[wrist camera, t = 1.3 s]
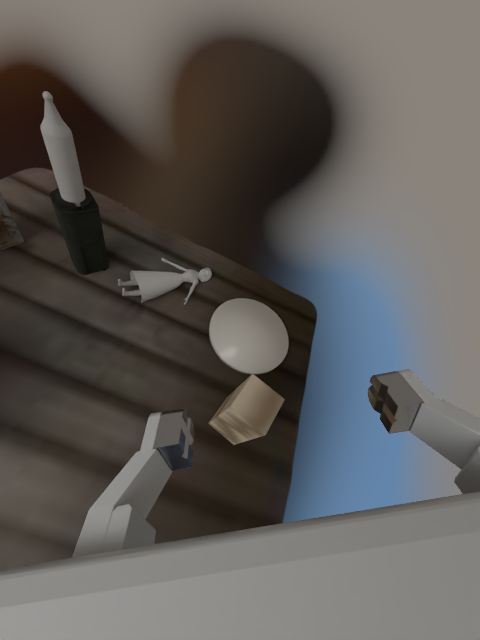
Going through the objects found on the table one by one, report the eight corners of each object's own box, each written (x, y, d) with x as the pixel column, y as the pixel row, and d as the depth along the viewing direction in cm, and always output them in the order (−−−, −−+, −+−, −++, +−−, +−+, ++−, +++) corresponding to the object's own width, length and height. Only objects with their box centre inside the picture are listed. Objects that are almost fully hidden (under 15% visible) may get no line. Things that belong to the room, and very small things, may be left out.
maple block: (208, 423, 37) (230, 406, 28) (226, 397, 40) (252, 373, 31) (234, 444, 37) (265, 435, 27) (250, 416, 40) (284, 399, 30)
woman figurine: (108, 254, 42) (201, 245, 52) (110, 271, 46) (196, 260, 55) (132, 309, 38) (227, 287, 48) (131, 323, 42) (220, 301, 52)
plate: (190, 336, 44) (191, 333, 43) (238, 288, 53) (240, 285, 52) (261, 393, 43) (264, 391, 42) (298, 333, 52) (300, 331, 51)
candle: (99, 249, 47) (66, 82, 27) (110, 268, 46) (83, 107, 26) (69, 255, 44) (7, 75, 24) (80, 276, 43) (23, 102, 23)
